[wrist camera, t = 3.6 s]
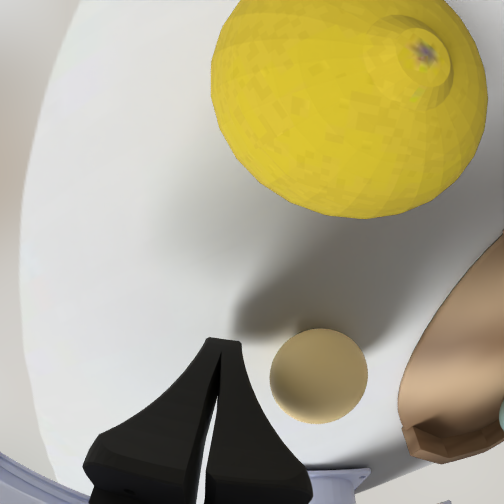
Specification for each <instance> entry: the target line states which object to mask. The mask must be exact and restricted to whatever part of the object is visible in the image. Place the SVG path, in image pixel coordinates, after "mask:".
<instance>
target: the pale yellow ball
mask: <svg viewBox="0 0 504 504" xmlns="http://www.w3.org/2000/svg"><path fill="white" fill-rule="evenodd" d="M367 379H368V369H367V364H366V360H365V357H364V355H363V353H362V351H361V350H360V348H359V347H358V345H357V344H356V343H355V342H354V341H353V340H352V339H350V338H349V337H348V336H346V335H344V334H342V333H340V332H338V331H335V330H330V329H321V328H319V329H311V330H307V331H304V332H301V333H299V334H297V335H295V336H293V337H292V338H290V339H289V340H288V341H287V342H285V343H284V345H283V346H282V347H281V348H280V349H279V351H278V352H277V354H276V356H275V358H274V359H273V362H272V365H271V369H270V387H271V391H272V394H273V397H274V399H275V401H276V402H277V404H278V405H279V406H280V408H281V409H282V410H283V411H284V412H285V413H286V414H288V415H289V416H291V417H292V418H294V419H296V420H298V421H301V422H305V423H310V424H323V423H328V422H332V421H335V420H338V419H340V418H342V417H343V416H345V415H346V414H348V413H349V412H350V411H351V410H352V409H353V408H354V407H355V406H356V405H357V404H358V403H359V401H360V399H361V398H362V396H363V394H364V392H365V389H366V385H367Z"/></svg>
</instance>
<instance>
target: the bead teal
mask: <svg viewBox="0 0 504 504" xmlns="http://www.w3.org/2000/svg"><path fill="white" fill-rule="evenodd" d="M499 422H500V425H501V428H502V429H503V431H504V400H503V402H502V404H501V407H500V411H499Z"/></svg>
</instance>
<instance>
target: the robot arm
mask: <svg viewBox="0 0 504 504" xmlns="http://www.w3.org/2000/svg"><path fill="white" fill-rule="evenodd" d="M217 396H218V398H217ZM216 399H217V414H216V419H215V425H214V430H213V436H212V441H211V447H210V452H209V457H208V462H207V467H206V480H205V500H204V504H356V501H355V495H354V490H355V489H356V488H357V487H358V486H359V485H360V484H361V483H362V482H363V481H364V480H365V479H366V478H367V477H368V476H369V475H370V474H371V469H370V468H361V469H347V470H326V471H307V469H306V467H305V466H304V465H303V464H302V463H301V462H300V461H299V460H298V459H297V458H296V457H295V456H294V455H293V453H292V452H291V451H290V450H289V449H288V448H287V446H286V445H285V444H284V443H283V441H282V440H281V439H280V437H279V436H278V434H277V433H276V431H275V430H274V429H273V427H272V426H271V424H270V422H269V421H268V419H267V417H266V416H265V414H264V412H263V410H262V408H261V406H260V404H259V402H258V400H257V398H256V396H255V393H254V391H253V389H252V386H251V383H250V381H249V378H248V375H247V371H246V368H245V364H244V360H243V355H242V344H241V343H240V342H239V341H233V340H226V339H219V338H212V337H209V338H207V339H206V340H205V342H204V344H203V346H202V348H201V349H200V351H199V352H198V354H197V355H196V357H195V358H194V360H193V361H192V362H191V363H190V365H189V366H188V367H187V369H186V370H185V371H184V372H183V373H182V374H181V376H180V377H179V378H178V379H177V380H176V381H175V382H174V383H173V384H172V385H171V386H170V387H169V388H168V389H167V390H166V391H165V392H164V393H163V394H162V395H161V396H160V397H159V398H157V399H156V400H155V401H154V402H152V403H151V404H150V405H149V406H147V407H146V408H145V409H143V410H142V411H140V412H139V413H137V414H136V415H134V416H133V417H131V418H130V419H128V420H126V421H125V422H123V423H121V424H120V425H118V426H116V427H114V428H112V429H110V430H108V431H106V432H103V433H101V434H99V435H98V437H97V438H96V440H95V441H94V443H93V444H92V446H91V447H90V449H89V451H88V453H87V456H86V458H85V461H84V463H83V469H84V472H85V473H86V475H87V476H88V478H89V479H90V480H91V482H92V483H93V485H94V488H93V491H92V494H91V497H90V496H88V495H85V494H83V493H80V492H78V491H75V490H73V489H70V488H68V487H66V486H63V485H61V484H59V483H57V482H55V481H53V480H50V479H48V478H46V477H44V476H42V475H40V474H38V473H36V472H34V471H32V470H31V469H29V468H27V467H25V466H23V465H21V464H20V463H18V462H16V461H14V460H12V459H11V458H9V457H8V456H6V455H4V454H2V453H1V452H0V504H196V499H197V492H198V485H199V478H200V471H201V464H202V458H203V452H204V445H205V441H206V436H207V433H208V429H209V425H210V422H211V418H212V414H213V411H214V407H215V403H216ZM438 504H451V501H450V500H448V501H445V502H441V503H438Z"/></svg>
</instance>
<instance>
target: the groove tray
mask: <svg viewBox="0 0 504 504" xmlns="http://www.w3.org/2000/svg"><path fill="white" fill-rule="evenodd" d="M503 400H504V230H503V235H502V236H501V237H500V238H499V239H498V240H497V241H496V242H495V243H494V244H493V245H491V246H490V247H489V248H488V249H487V250H486V251H485V252H484V254H483V255H482V256H481V257H480V258H479V259H478V260H477V261H476V262H475V264H474V265H473V266H472V267H471V268H470V269H469V270H468V271H467V273H466V274H465V275H464V277H463V278H462V279H461V280H460V281H459V283H458V284H457V285H456V286H455V288H454V289H453V290H452V291H451V293H450V294H449V296H448V297H447V298H446V300H445V301H444V303H443V304H442V305H441V307H440V308H439V309H438V311H437V312H436V314H435V316H434V317H433V319H432V320H431V322H430V323H429V325H428V326H427V328H426V329H425V331H424V333H423V335H422V336H421V338H420V340H419V342H418V344H417V345H416V347H415V349H414V351H413V353H412V355H411V357H410V360H409V362H408V364H407V366H406V368H405V371H404V374H403V377H402V380H401V383H400V388H399V394H398V413H399V417H400V420H401V423H402V425H403V427H402V431H403V434H404V437H405V440H406V443H407V447H408V450H409V453H410V456H413V457H416V458H420V459H423V460H427V461H431V462H434V463H438V464H444V463H449V462H453V461H457V460H460V459H464V458H467V457H471V456H474V455H477V454H480V453H483V452H485V451H488V450H489V449H491V448H493V447H495V446H496V445H498V444H500V443H501V442H503V441H504V431H503V429H502V428H501V425H500V422H499V411H500V407H501V404H502V402H503Z"/></svg>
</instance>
